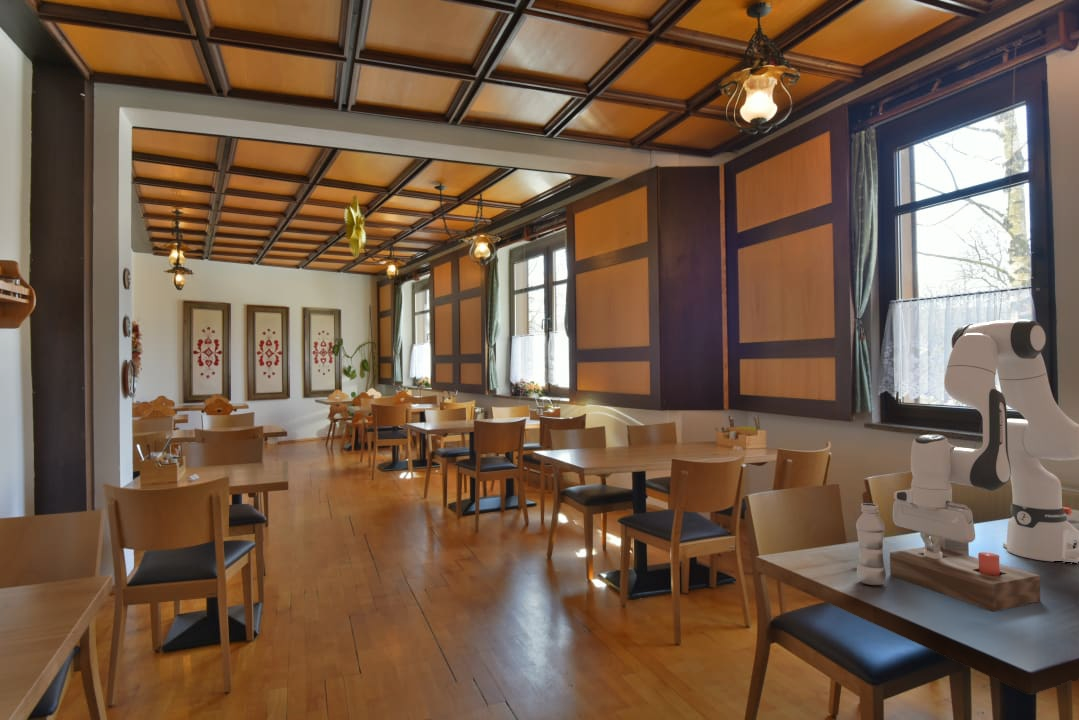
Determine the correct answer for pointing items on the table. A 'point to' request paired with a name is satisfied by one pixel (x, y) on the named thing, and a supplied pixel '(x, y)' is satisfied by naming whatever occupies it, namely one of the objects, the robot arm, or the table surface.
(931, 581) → the plug housing
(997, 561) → the red plug
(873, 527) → the plastic bottle
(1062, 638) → the table surface
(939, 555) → the plug
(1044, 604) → the table surface
